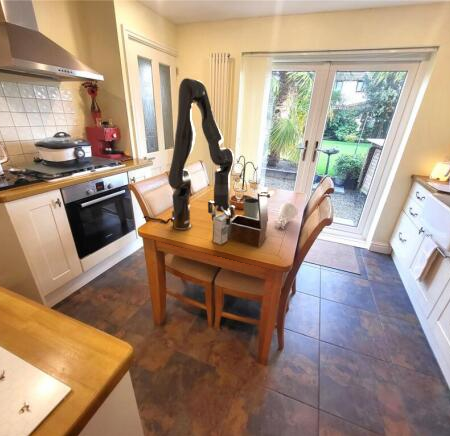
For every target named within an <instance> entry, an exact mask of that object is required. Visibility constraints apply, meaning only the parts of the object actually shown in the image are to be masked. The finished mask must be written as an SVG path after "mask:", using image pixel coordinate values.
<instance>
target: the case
mask: <svg viewBox="0 0 450 436" xmlns="http://www.w3.org/2000/svg"><path fill="white" fill-rule="evenodd" d="M267 228H268V222H267V223H266V224H265V225H264V227H263V228H262V229H261V230H260V226H259V218H257V219H254V218H249V217H245V216H244V215H240V214H236V215H234V217H233V218H231V220H230V224H229V225H228V240H230V241H234V242H237V243H241V244H245V245H248V246H252V247H256V248H259V247H260V246H261V245H262V243H263V242H264V241H265V239H266V235H267Z"/></svg>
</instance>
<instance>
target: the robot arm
mask: <svg viewBox="0 0 450 436" xmlns="http://www.w3.org/2000/svg"><path fill="white" fill-rule="evenodd" d="M177 101H178V102H177V117H176V118H177V120H176V128H175V134H174V142H173V143H174V144H173V150H172V158H171V163H170V167H169V171H168V172H169V173H168V176H167V177H168V178H167V179H168V181H167V182H168V184H169V187H170V188H172V189H173V190H174V192H173V193H172V196H171V197H172V212H171V217H169V218H168V219H167V220H164V219H162V218H155V217H151V216H149V215H144V216H143V217H142V218H143V219H148V220H152V221H160V222H163V223H165V224H168V223H169V222H171V223H172V227H173V228H174V229H175V230H178V231H185V230H188V229H190V228H191V226H192V225H191V203H190V201H191V199H190V196H191V193H192V177H191V174H190V173H189V171H188V170H187V169H185V166H186V164H187V161H188V159H189V157H190V155H191V153H192V151H193V149H194V144H195V139H196V132H195V127H194V124H193V120H192V107H193V104H196V106H197V108H198V110H199V112H200V116H201V130H202V133H203V135H204V138H205V140H206V142H207V144H208V152H209V157H210V160H211V162H212V163H213V164H214V165H215V166H218V169H216V170H215V171H214V179H213V181H214V183H213V200H210V201H208V202H207V212H208V214H210V215H211V221H213V217H214V216H217V212H220V213H222V214H224V215H226V217H227V218H226V225H229V224H230V221H231V220H232V219H233V218H234V217H235V213H236V205H230V193H231V192H230V191H231V190H230V187H231V185H230V179H231V178H230V175H231V171H232V167H233V164H234V159H235V158H234V157H235V155H234V153H233V151H232V149H231V148H228V147H223V148H222V147H221V144H222V143H223V141H224V137H223V135H222V133H221V131H220V129H219V128H220V127H219V126H218V124H217V122H216V118H215V116H214V113H213V110H212V106H211V105H212V104H211V102H210V98H209V95H208V91H207V88H206V86H205V84H204V83H203V82H202V81H200V80H198V79H197V80H196V79H192V78H189V77H185V78H183V79H182V80H181V81H180V84H179V87H178V99H177ZM213 206H214V207H213ZM213 208H214V209H213Z"/></svg>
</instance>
